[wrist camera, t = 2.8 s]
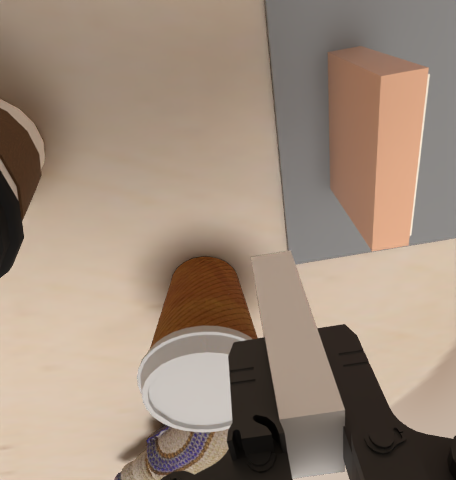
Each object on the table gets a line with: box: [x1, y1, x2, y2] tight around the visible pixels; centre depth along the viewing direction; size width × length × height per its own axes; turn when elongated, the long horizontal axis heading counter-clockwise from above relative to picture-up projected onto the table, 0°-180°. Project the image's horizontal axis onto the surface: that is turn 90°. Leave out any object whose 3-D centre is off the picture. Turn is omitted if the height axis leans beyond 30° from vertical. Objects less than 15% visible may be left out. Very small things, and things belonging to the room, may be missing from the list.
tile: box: [328, 46, 430, 251], centre depth 24 cm, size 10×2×9 cm, turn 9°
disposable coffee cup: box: [137, 257, 258, 432], centre depth 31 cm, size 10×10×12 cm
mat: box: [265, 0, 456, 264], centre depth 28 cm, size 24×18×1 cm
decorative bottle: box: [115, 425, 229, 480], centre depth 45 cm, size 26×8×7 cm, turn 127°
